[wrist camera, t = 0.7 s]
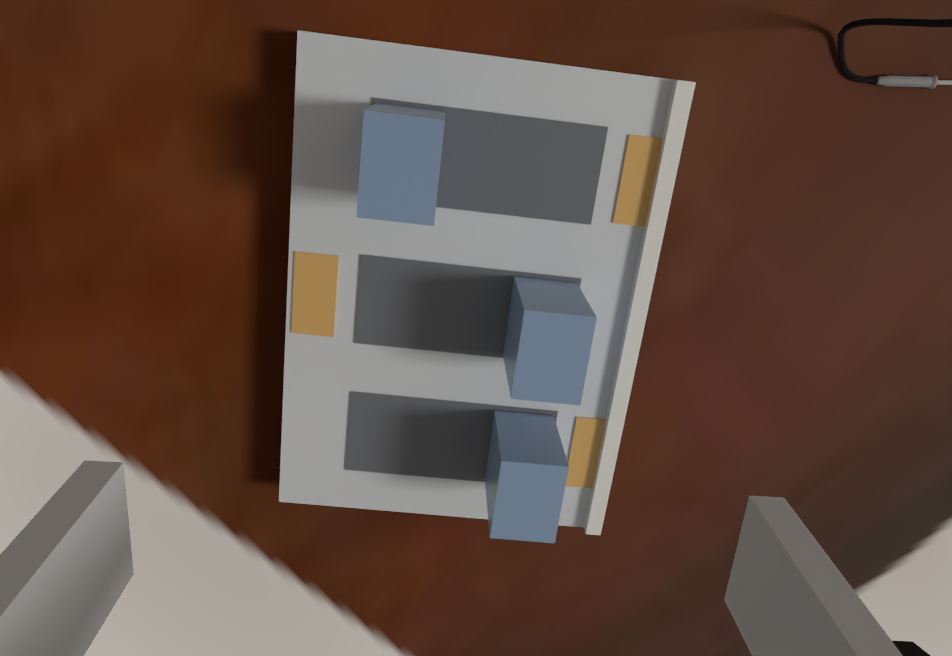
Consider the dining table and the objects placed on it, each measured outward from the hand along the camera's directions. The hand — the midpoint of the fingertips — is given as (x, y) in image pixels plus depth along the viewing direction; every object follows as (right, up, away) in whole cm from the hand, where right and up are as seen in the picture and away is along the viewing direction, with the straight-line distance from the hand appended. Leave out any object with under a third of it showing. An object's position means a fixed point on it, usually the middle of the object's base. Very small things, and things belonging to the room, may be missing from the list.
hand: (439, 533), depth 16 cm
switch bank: (0, +6, +22) cm, 23 cm away
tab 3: (+3, -2, +22) cm, 22 cm away
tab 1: (-2, +12, +17) cm, 21 cm away
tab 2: (+4, +5, +20) cm, 21 cm away
